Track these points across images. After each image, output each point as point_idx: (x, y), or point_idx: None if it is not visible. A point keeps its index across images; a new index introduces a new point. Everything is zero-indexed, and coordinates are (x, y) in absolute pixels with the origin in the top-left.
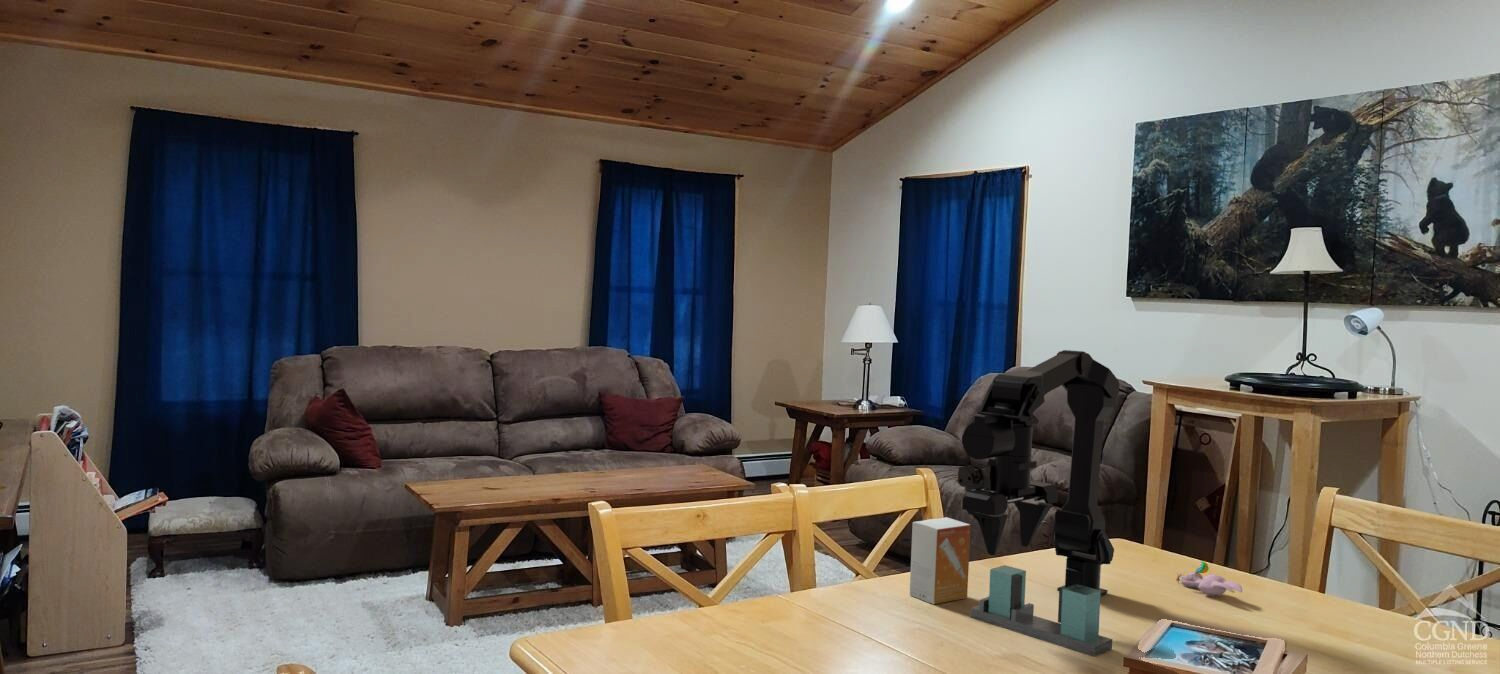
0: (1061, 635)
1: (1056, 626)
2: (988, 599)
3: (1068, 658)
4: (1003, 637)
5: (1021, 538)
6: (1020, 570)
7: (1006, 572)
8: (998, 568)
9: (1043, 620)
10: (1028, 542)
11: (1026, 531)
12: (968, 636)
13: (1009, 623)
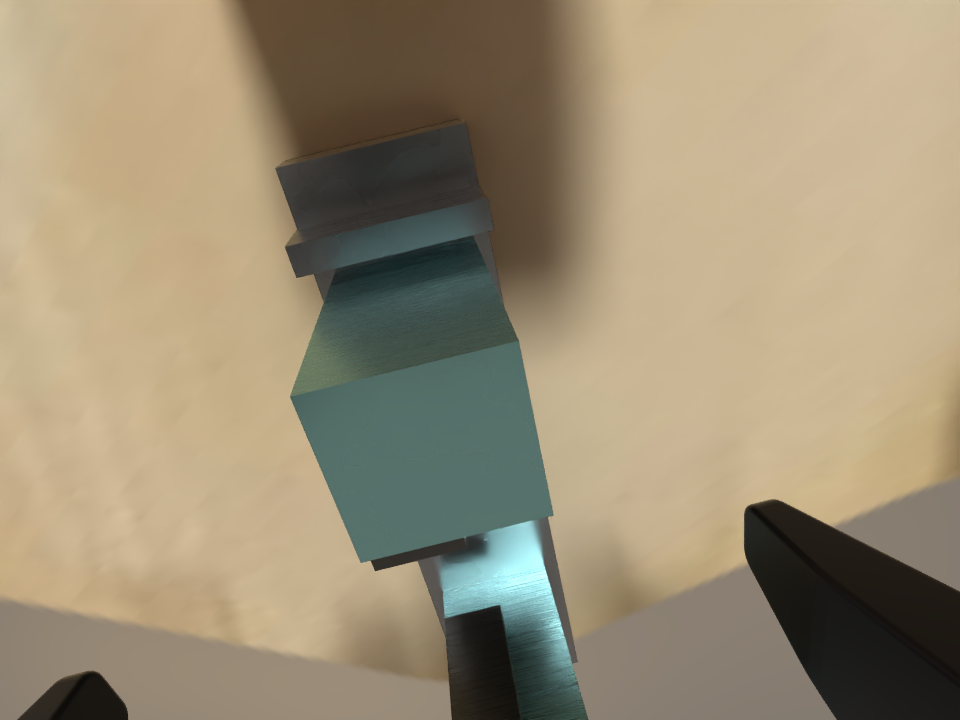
0: (437, 599)
1: (502, 528)
2: (347, 265)
3: (367, 649)
4: (271, 447)
5: (794, 568)
6: (516, 502)
7: (364, 511)
8: (379, 407)
9: None
10: (776, 613)
11: (886, 713)
12: (106, 388)
13: None
